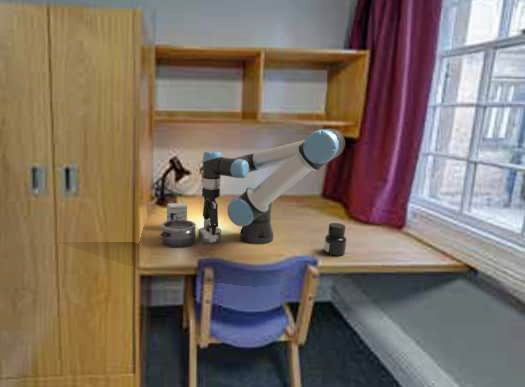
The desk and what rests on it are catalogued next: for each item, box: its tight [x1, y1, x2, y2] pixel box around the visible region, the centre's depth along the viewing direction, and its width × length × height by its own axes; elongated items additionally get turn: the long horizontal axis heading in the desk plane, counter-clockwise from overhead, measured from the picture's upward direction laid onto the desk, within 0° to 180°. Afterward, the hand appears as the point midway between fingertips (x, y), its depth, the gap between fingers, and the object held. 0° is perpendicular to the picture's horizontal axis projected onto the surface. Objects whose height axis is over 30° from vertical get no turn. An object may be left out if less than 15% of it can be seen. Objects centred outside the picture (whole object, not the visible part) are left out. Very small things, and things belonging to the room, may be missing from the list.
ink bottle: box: [323, 222, 347, 257], centre depth 174 cm, size 10×9×12 cm
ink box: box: [166, 202, 188, 221], centre depth 193 cm, size 9×5×12 cm, turn 114°
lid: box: [197, 225, 222, 245], centre depth 181 cm, size 10×10×6 cm
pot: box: [160, 219, 197, 249], centre depth 176 cm, size 18×14×8 cm
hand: (209, 237), depth 181 cm, fingers closed on lid, 10 cm apart
